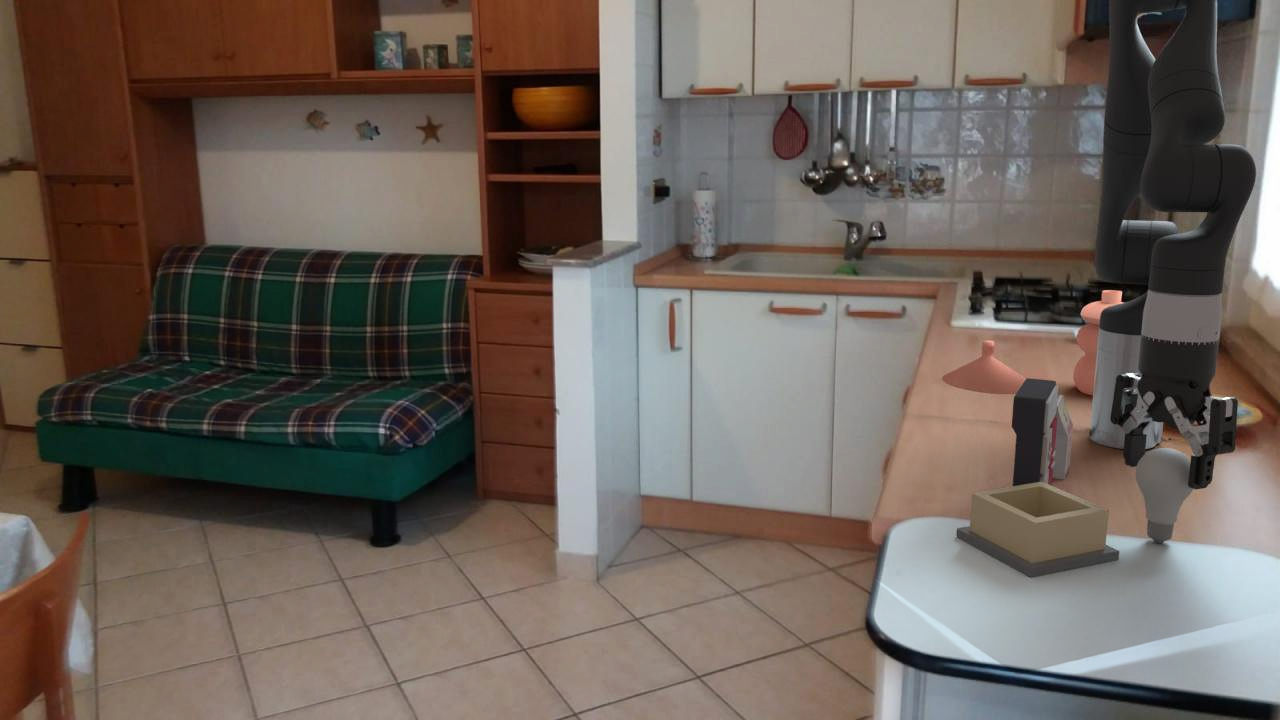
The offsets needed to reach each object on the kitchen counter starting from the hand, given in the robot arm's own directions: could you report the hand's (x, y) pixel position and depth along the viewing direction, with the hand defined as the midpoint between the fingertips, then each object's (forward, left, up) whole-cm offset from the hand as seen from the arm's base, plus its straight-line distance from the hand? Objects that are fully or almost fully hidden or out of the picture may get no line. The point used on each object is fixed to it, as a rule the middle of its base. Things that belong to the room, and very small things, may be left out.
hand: (1164, 476), depth 114 cm
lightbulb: (0, 0, -8) cm, 8 cm away
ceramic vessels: (-35, -60, -8) cm, 70 cm away
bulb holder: (+14, -4, -8) cm, 16 cm away
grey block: (-8, -25, -8) cm, 27 cm away
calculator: (+5, -15, -8) cm, 18 cm away
